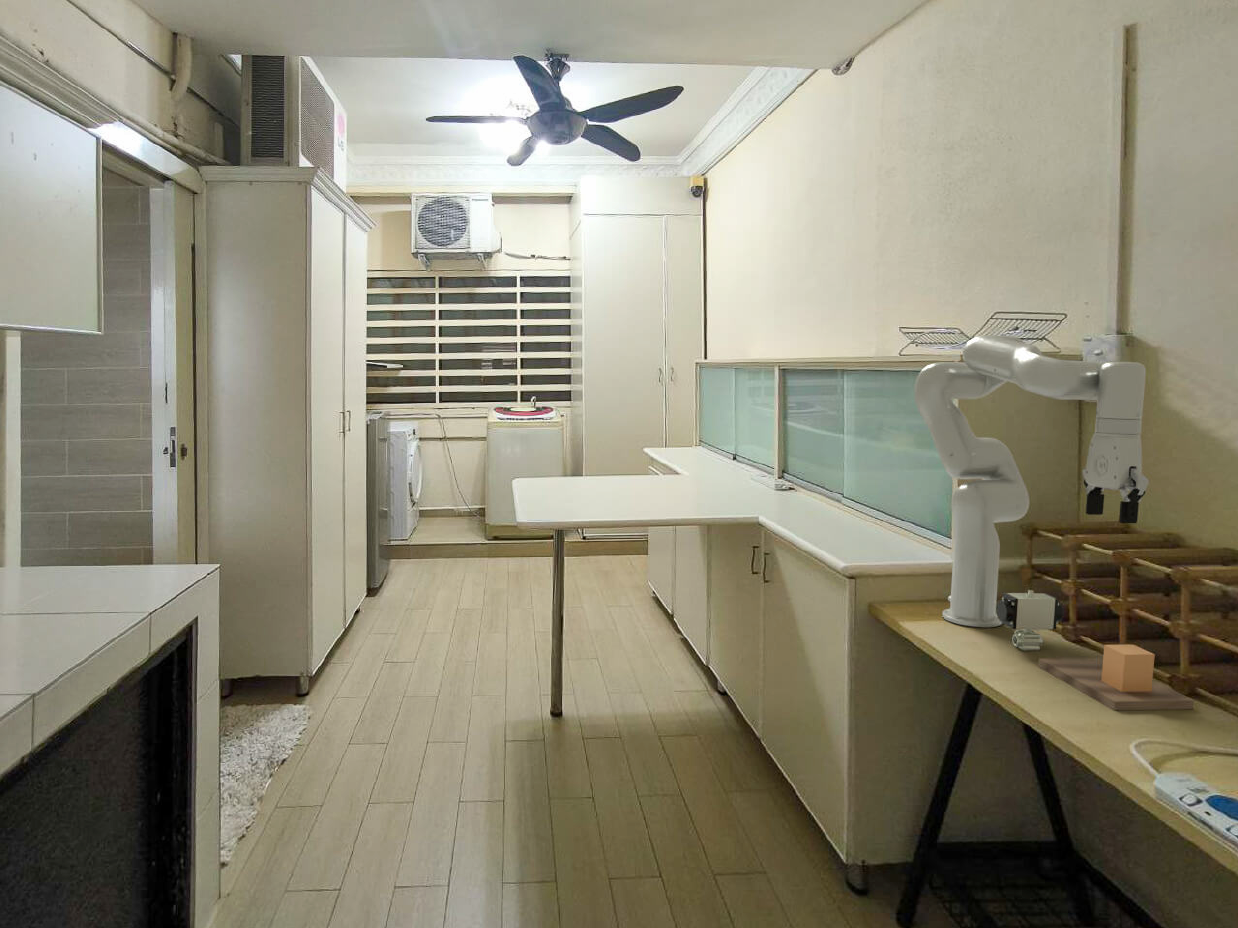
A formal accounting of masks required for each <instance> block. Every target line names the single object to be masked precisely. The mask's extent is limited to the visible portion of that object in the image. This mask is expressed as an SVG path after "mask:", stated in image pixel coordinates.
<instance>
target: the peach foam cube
mask: <svg viewBox="0 0 1238 928" xmlns="http://www.w3.org/2000/svg"><path fill="white" fill-rule="evenodd" d="M1103 646H1104V647H1103V657H1102V658H1103V668H1102V680H1101V681H1103V682H1105V683H1107V684H1109V685H1110V686H1112V687H1114V688H1116V689H1118V690H1120V691H1121V692H1138V691H1152V680H1154V678H1153V677H1154V667H1155V654H1154V653H1153V652H1151V651H1148V650H1146V649H1144V648H1142V647H1139V646H1137V645H1136V644H1104V645H1103Z"/></svg>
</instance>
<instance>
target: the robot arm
mask: <svg viewBox="0 0 1238 928" xmlns="http://www.w3.org/2000/svg"><path fill="white" fill-rule="evenodd" d="M962 359H963V361H962V362H957V361H941V362H935V363H934V362H933V363H931V364H930V363H929V364H928V365H926V366H924V368H922V369H921V371H920V372H919V373H918V375H917V377H916V380H915V384H914V399H915V403H916V406H917V409H918V411H919V413H920V416H921V417H922V419H923V420H924V422H925V424H926V426H927V428H928V430H929V432H930V435H931V438H932V441H933V443H934V446H935V448H936V450H937V454H938V456H939V459H940V462H941V463H942V466H943V468H944V470H945V472H946V473H947V474H948V476H950V477H951V478H952V479H957V480H972V481H967V482H964V483H962V484H961V485H959V486H957V488H956V489H954V492H953V493H952V497H951V512H952V517H953V518H952V519H953V527H954V528H953V529H954V530H953V531H954V533H953V536H954V537H953V555H952V556H953V557H952V572H951V573H952V574H951V585H950V587H951V588H950V590H951V591H950V592H951V593H950V595H949V596H948V597H947V601H949V602H950V603H949V604H950V606H949V608H946V609H944V610H943V611H942V615H943V616H942V618H943V617H944V618H943V619H944V620H946V621H948V622H950V623H954V624H956V625H960V626H961V625H962V626H966V627H967V626H968V627H974V628H994V627H999V626H1001V625H1002V624H1003V623H1002V622H1001V621H1000V620H999V619H998V617H997V613H996V606H997V598H998V597H997V596H998V595H997V594H998V585H999V584H998V582H999V581H998V580H999V568H1000V565H999V564H1000V549H1001V546H1000V545H1001V544H1000V543H1001V542H1000V538H999V535H998V532H997V530H996V527H995V523H1006V522H1008V523H1009V522H1015V521H1018V520H1020V519H1022V518H1023V517H1025V515H1026V514H1027V512H1028V510H1029V508H1030V496H1029V492H1028V489H1027V486H1026V484H1025V482H1024V479H1023V477H1022V474H1021V473H1020V471H1019V468H1018V466H1017V463H1016V461H1015V459H1014V455H1013V454H1012V452H1011V451H1010V449H1009V448H1008V447H1007V444H1005V443H1004V442H1002V441H1001V440H999V439H997V438H994V437H978V436H976V435H975V433H974V432H973V430H972V429H971V426H970V423H969V420H968V419H967V417H966V416H965V414H964V412H963V411H962V410H961V409H960V408H959V407H958V406H956V404H955V403H954V402H953V401H952V400H977V399H981V398H984V397H986V396H989V394H991V393H992V392H994V391H996V390H997V389H999V388H1000V387H1001V386H1003V385H1004V384H1006V383H1007V382H1009V383H1012V384H1016V385H1017V386H1018V387H1019V388H1020V389H1022V390H1024V391H1027V392H1030V393H1031V394H1032V393H1033V394H1037V395H1040V396H1044V397H1047V398H1051V399H1055V400H1061V401H1063V400H1064V401H1065V400H1069V401H1070V400H1076V401H1077V400H1078V401H1079V400H1081V401H1096V400H1097V401H1096V413H1095V422H1094V423H1095V424H1094V425H1095V426H1094V433H1093V434H1092V437H1091V440H1090V444H1089V448H1088V452H1087V453H1088V454H1087V459H1086V466H1085V468H1084V469H1082V476H1083V484H1084V486H1085V493H1086V503H1085V504H1086V505H1085V514H1086V515H1095V516H1098V515H1100V516H1101V515H1103V514H1104V505H1105V503H1104V502H1105V494H1104V493H1103V492H1104V491H1105V489H1106V490H1110V491H1114V490H1115V491H1117V490H1118V491H1119V493H1120V495H1121V498H1122V500H1121V501H1120V504H1119V505H1120V506H1119V516H1118V517H1119V518H1118V522H1119V523H1120V524H1137V523H1138V519H1139V518H1138V517H1139V516H1138V515H1139V508H1140V507H1139V503H1140V502H1142V500H1143V499H1142V498H1143V496H1145V494H1146V490H1147V488H1148V486H1149V484H1150V481H1149V479H1148V478H1147V477H1146V476H1145V475H1144V474H1143V473H1142V469H1143V468H1142V467H1143V454H1142V453H1143V452H1142V451H1143V450H1142V449H1143V448H1142V438H1141V437H1142V436H1141V434H1142V423H1143V412H1144V411H1143V409H1144V402H1145V401H1144V400H1145V399H1144V397H1145V386H1146V375H1147V371H1146V367H1145V365H1144V364H1142V363H1140V362H1137V361H1136V362H1135V361H1134V362H1133V361H1111V362H1110V361H1108V362H1104V361H1092V360H1071V359H1070V360H1065V359H1059V358H1055V357H1054V358H1053V357H1050V356H1046V355H1043V353H1042V351H1041V349H1040V348H1038V346H1036V345H1033V344H1029V343H1025V341H1023V340H1022V339H1020V338H1019V337H1016V336H1011V335H996V334H995V335H994V334H982V335H978V336H974V337H973V338H971V339H970V340H969V341H968V342H966V344H965V345H964V347H963V349H962Z"/></svg>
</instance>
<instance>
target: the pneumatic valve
mask: <svg viewBox="0 0 1238 928" xmlns="http://www.w3.org/2000/svg"><path fill="white" fill-rule="evenodd" d="M995 614H997V617H998V619H999V620H1000V621H1001V622H1002V624H1003V625H1005V626H1007V627H1009V628H1010V629H1012V630H1014V634H1013V635H1012V636H1011V637H1012V638H1011V640H1012V645H1013V646H1014V647H1016V648H1019V650H1021V651H1023V652H1025V651H1027V652H1028V651H1029V652H1030V651H1033V652H1037V651H1040V650H1041V646H1042V645H1043V644H1044V641H1043V640H1044V639H1043V637H1042V635H1041V634H1040V633H1037V632H1039V631H1040V630H1057V625H1058V623H1060V622H1061V621H1062V620H1063V619H1064V614H1065V613H1064V607H1063V605H1062V603H1061V601H1059V599H1058V598H1056V597H1055V596H1052V595H1050V594H1049V593H1045V592H1043V593H1041V592H1040V593H1039V592H1038V593H1037V592H1034V590H1032V589H1028V590H1027V592H1003V595H1002V598H1001V599H1000V600H998V601H997V602H996V613H995Z"/></svg>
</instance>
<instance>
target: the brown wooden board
mask: <svg viewBox="0 0 1238 928" xmlns="http://www.w3.org/2000/svg"><path fill="white" fill-rule="evenodd" d="M1037 663H1038V664H1037V666H1038V667H1039V668H1041V669H1042V670H1044V671H1046V672H1048V673H1050V675H1053V676H1054V677H1056V678H1058V679H1060V680H1061V681H1062V682H1065V683H1067V684H1068V685H1070V686H1072V687H1073V688H1075V689H1077V690H1078V691H1080V692H1082V693H1084V694H1085V695H1087V696H1089V697H1090V698H1092V699H1093V700H1096V701H1097V702H1099V703H1101V704H1102V705H1105V706H1106V707H1108V708H1110V709H1111V710H1113V711H1143V710H1144V711H1148V710H1149V711H1150V710H1151V711H1152V710H1153V711H1156V710H1194V706H1195V705H1194V703H1195V700H1194V699H1192V698H1190V697H1188V696H1186V695H1184V694H1182V693H1180V692H1178V691H1176V690H1174V689H1172V688H1171V687H1168V686H1167V685H1164V684H1162V683H1160V682H1158V681H1156V680H1154V679H1152V691H1138V692H1121V691H1120V690H1118V689H1116V688H1114V687H1112V686H1110V685H1109V684H1107V683H1105V682H1103V681H1101V680H1102V668H1103V657H1061V658H1060V657H1058V658H1057V657H1049V658H1045V657H1044V658H1041V657H1039V658H1038V661H1037Z"/></svg>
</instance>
